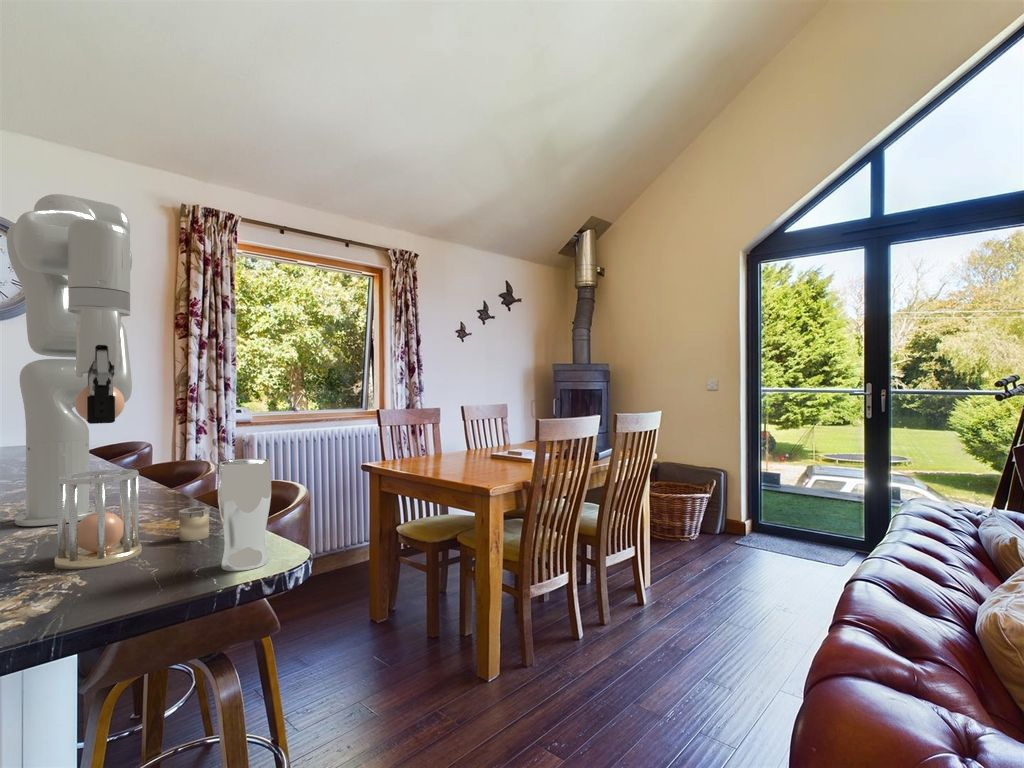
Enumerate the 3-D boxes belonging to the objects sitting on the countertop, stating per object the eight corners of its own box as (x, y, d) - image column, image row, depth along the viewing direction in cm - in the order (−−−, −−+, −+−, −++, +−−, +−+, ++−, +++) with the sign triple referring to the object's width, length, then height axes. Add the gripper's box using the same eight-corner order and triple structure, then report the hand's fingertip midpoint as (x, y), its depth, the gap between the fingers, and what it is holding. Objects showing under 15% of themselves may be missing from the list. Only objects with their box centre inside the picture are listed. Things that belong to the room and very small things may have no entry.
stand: (177, 537, 91) (177, 509, 92) (206, 532, 94) (206, 505, 94) (181, 542, 88) (181, 513, 88) (211, 537, 91) (211, 509, 91)
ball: (73, 550, 81) (73, 511, 81) (122, 542, 85) (122, 505, 85) (74, 560, 76) (74, 518, 76) (125, 551, 80) (125, 512, 80)
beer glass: (213, 563, 78) (213, 461, 78) (263, 553, 82) (263, 457, 82) (224, 576, 72) (223, 466, 72) (277, 565, 77) (277, 461, 77)
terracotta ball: (74, 422, 81) (74, 383, 81) (122, 421, 85) (122, 383, 85) (74, 424, 76) (75, 383, 76) (126, 422, 80) (126, 383, 80)
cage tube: (55, 556, 81) (55, 473, 81) (137, 543, 88) (137, 466, 88) (54, 574, 73) (54, 482, 73) (145, 558, 80) (145, 474, 80)
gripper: (67, 308, 85) (67, 421, 85) (68, 293, 72) (68, 426, 72) (125, 312, 90) (125, 419, 90) (135, 298, 77) (136, 423, 76)
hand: (100, 421), depth 81 cm, fingers closed on terracotta ball, 5 cm apart
